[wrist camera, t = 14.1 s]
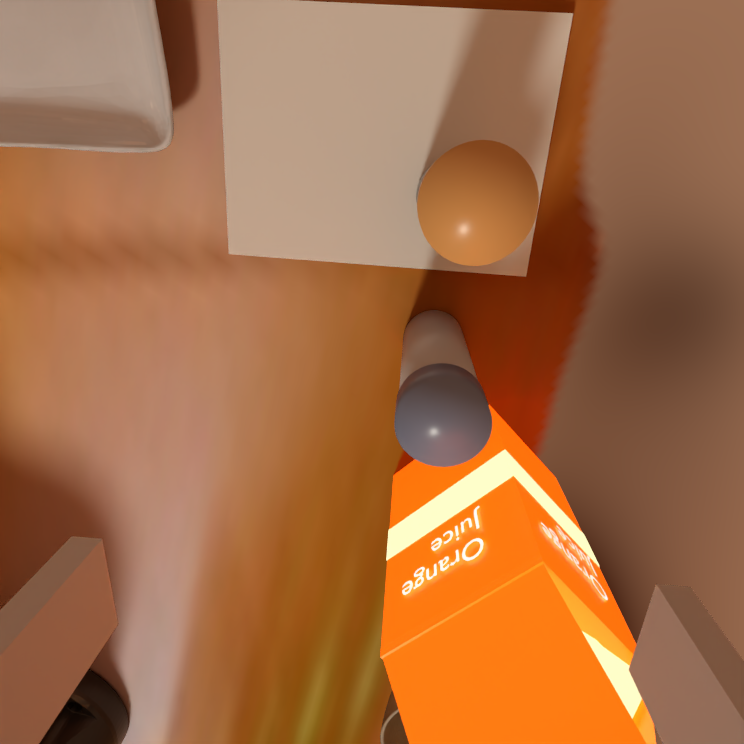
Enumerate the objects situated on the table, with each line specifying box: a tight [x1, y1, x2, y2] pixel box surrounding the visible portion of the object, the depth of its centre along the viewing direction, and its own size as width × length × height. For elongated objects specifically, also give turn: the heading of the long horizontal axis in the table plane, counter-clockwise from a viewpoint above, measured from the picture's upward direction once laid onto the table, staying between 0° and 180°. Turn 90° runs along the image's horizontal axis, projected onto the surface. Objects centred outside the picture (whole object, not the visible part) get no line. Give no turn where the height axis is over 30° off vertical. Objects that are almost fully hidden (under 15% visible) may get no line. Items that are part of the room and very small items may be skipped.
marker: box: [416, 140, 539, 266], centre depth 22 cm, size 4×4×12 cm
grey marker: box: [395, 310, 492, 467], centre depth 26 cm, size 4×4×12 cm
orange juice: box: [380, 405, 656, 744], centre depth 25 cm, size 8×9×20 cm
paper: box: [217, 0, 573, 277], centre depth 27 cm, size 18×13×1 cm
